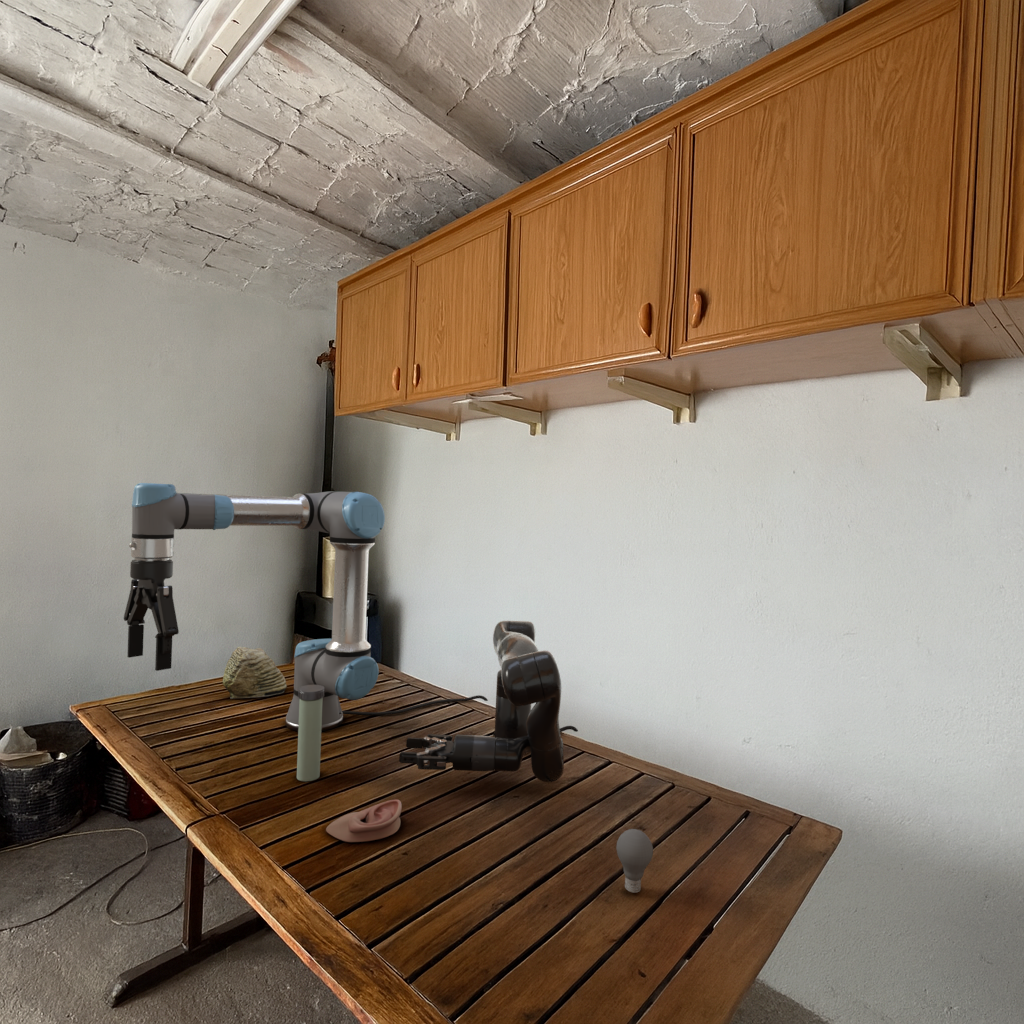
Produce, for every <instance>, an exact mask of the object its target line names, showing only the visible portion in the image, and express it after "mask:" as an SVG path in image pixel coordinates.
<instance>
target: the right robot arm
mask: <svg viewBox="0 0 1024 1024" xmlns="http://www.w3.org/2000/svg"><path fill="white" fill-rule="evenodd" d="M536 635H537V634H536V627H535V624H534V622H532V621H529V620H528V621H527V620H501V621H499V622H497V623H496V624H495V626H494V629H493V632H492V646H493V650H494V652H495V654H496V656H497V660H498V663H499V667H500V669H499V670H498V671H497V673H496V691H495V695H496V696H495V712H494V713H495V715H494V731H493V732H492V736H489V735H475V734H473V735H472V734H456V735H455V736H454V740H453V735H451V734H437V733H436V734H435V733H427V734H426V736H424V737H412V736H411V737H407V738H406V741H405V743H406V744H405V747H406V748H407V749H420V750H421V749H423V750H424V751H419V752H415V751H401V752H399V755H398V756H399V757H398V762H399V763H400V764H412V765H413V764H415V765H416V766H417V769H418V770H430V771H431V770H432V771H433V770H434V771H435V770H436V771H444V770H446V769H447V764H452V769H453V770H454V771H461V772H462V771H463V772H465V771H466V772H494V771H495V772H511V773H512V772H513V773H514V772H518V771H519V770H520V768H521V766H522V761H523V758H524V756H526V755H527V754H530V764H531V771H532V773H533V775H534V776H535V778H536V779H537V780H539V781H541V782H543V783H550V784H551V783H554V782H556V781H558V780H559V779H560V778H561V777H562V776H563V774H564V771H565V770H564V769H565V765H564V764H565V763H564V762H565V760H564V759H565V758H564V757H565V756H564V740H563V738H562V736H561V733H563V732H565V731H569V730H572V731H573V732H579V730H578V728H576V726H573V725H566V726H563V727H560V720H559V718H560V710H561V700H562V690H563V689H562V687H563V686H562V678H561V673H560V669H559V664H558V663H557V659H556V657H555V655H554V654H553V653H552V652H551V651H549V650H547V649H546V650H539V648H538V646H537V645H536ZM532 704H534V705H533V707H532Z"/></svg>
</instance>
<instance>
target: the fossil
mask: <svg viewBox="0 0 1024 1024" xmlns="http://www.w3.org/2000/svg"><path fill="white" fill-rule="evenodd" d="M222 676H223V677H222V685H223V687H224V688H225V690H226V691H228V693H229V698H230V699H250V698H264V697H271V696H275V695H281V694H284V693H285V691H286V689H287V687H288V686H287V680H286V678H285V676H284V674H283V673H282V672H281V669H279V668H278V667H277V665H276V663H275V662H274V660H273V659H272V658H271V657H270V656H269V655H268V654H267V653H266V652H265V650H264V649H263V648H260V647H258V648H251V647H247V646H246V647H245V646H238V647H237V648H236V649H235V650H233V651H232V653H231V656H230V657H229V659H228V660H227V663H226V666H225V668H224V671H223V675H222Z"/></svg>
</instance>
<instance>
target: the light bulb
mask: <svg viewBox="0 0 1024 1024" xmlns="http://www.w3.org/2000/svg"><path fill="white" fill-rule="evenodd" d="M615 849H616V854H617V857H618V859H619V861H620V863H621V865H622V867H623V873H624V874H623V875H624V876H625V878H624V888H625V890H627V891H628V892H630V893H634V894H635V893H639V892H640V891H641V889H642V887H641V886H642V879H643V877H644V875H645V871H646V868H647V867H648V866H649V864H650V863H651V861H652V859H653V855H654V847H653V843H652V841H651V838H649V836H648V835H647V834H646V833H645V832H643V831H642V830H641V829H636V828H629V829H627V830H625V831H623V832H622V833H621V834H620V835H619V837H618V839H617V841H616V847H615Z"/></svg>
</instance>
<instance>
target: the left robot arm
mask: <svg viewBox="0 0 1024 1024" xmlns="http://www.w3.org/2000/svg"><path fill="white" fill-rule="evenodd" d="M385 515H386V513H385V511H384V508H383V505H382V503H381V502H380V501H379V500H378V498H377V497H375V495H373V494H370V493H367V492H363V491H362V492H361V491H337V490H336V491H335V490H333V491H332V490H330V491H321V492H311V493H295V494H294V495H293V496H276V495H275V496H274V495H273V496H272V495H248V494H247V495H246V494H244V495H243V494H220V493H219V494H218V493H217V494H216V493H215V494H214V493H189V492H187V493H186V492H177V491H176V486H175V485H174V484H173V483H152V482H139V483H137V484H136V485H135V486H134V488H133V492H132V501H131V520H132V521H131V542H130V543H128V547H129V548H130V549H131V550H130V556H131V558H133V559H132V560H131V561H130V567H129V568H130V571H129V574H130V575H129V576H130V578H131V581H130V590H129V594H128V598H127V603H126V607H125V610H124V615H123V621H124V622H126V624H127V626H128V629H127V630H128V631H127V658H135V657H142V656H144V635H145V634H144V630H145V625H144V624H145V623H146V621H145V619H144V618H145V616H146V615H147V612H148V609H149V610H151V613H152V618H153V620H154V624H155V627H156V631H157V633H156V635H155V636H154V638H155V661H154V663H155V665H154V668H155V669H154V670H155V671H157V672H159V671H164V670H169V669H172V659H173V657H172V655H173V637H175V636H176V635H179V632H180V631H179V625H178V619H177V615H176V614H177V613H176V609H175V603H174V597H173V595H174V593H173V585H165V580H167V579H171V578H172V577H173V575H174V573H173V572H174V561H173V560H172V559H171V558H173V557H174V554H175V553H174V552H175V530H213V531H215V530H224V529H228V528H230V526H233V527H234V526H237V527H238V526H240V527H243V526H246V527H247V526H249V527H250V526H258V527H259V526H268V527H269V526H276V527H277V526H282V527H284V526H285V527H286V526H287V527H288V526H289V527H290V526H291V527H293V528H294V529H296V530H308V531H309V530H310V531H316V532H319V533H325V534H329V544H330V545H331V546H332V547H333V548H334V550H335V551H334V572H333V573H334V577H333V599H332V625H331V626H332V627H331V638H317V639H308V640H304V641H300V642H299V643H297V645H296V646H295V650H294V655H293V657H294V672H293V673H294V674H293V695H292V696H293V697H292V699H291V702H290V704H289V708H288V711H287V713H286V715H285V726H286V728H287V729H289V730H291V731H294V732H295V731H296V732H298V728H299V701H300V699H299V698H298V690H299V688H300V687H302V686H305V685H321V686H323V687H324V689H325V690H324V697H323V702H322V728H321V732H325V731H329V730H332V729H335V728H337V727H339V726H340V725H342V723H343V722H344V715H354V716H391V715H397V714H403V713H406V712H410V711H412V710H413V711H414V710H416V709H420V708H425V707H428V706H432V705H437V704H444V703H456V702H458V703H459V702H469V701H472V700H477V699H480V700H483V701H484V702H488V701H489V699H488V698H486V696H484V695H479V694H478V695H472V696H470V697H463V698H462V697H461V698H448V699H447V698H445V699H438V700H437V699H436V700H432V701H428V702H424V703H421V704H416V705H412V706H409V707H406V708H402V709H398V710H391V711H390V710H389V711H355V710H343V709H342V706H341V702H340V699H339V698H341V699H342V700H343V699H344V700H348V701H349V700H350V701H357V700H360V699H362V698H364V697H365V696H367V695H368V694H370V692H371V690H372V689H374V687H375V685H376V683H377V682H378V678H379V674H380V672H379V671H380V670H379V669H380V668H379V665H378V663H377V662H376V660H375V659H374V657H371V652H372V649H371V648H372V644H371V643H370V642H368V640H367V639H366V631H367V607H368V606H367V605H368V604H367V602H368V582H369V581H368V579H369V555H370V553H369V552H370V550H371V548H372V547H374V545H375V544H376V536H378V535H379V534H380V533H381V530H383V528H384V526H385V522H386V521H385V520H386V516H385ZM464 698H465V699H464Z"/></svg>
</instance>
